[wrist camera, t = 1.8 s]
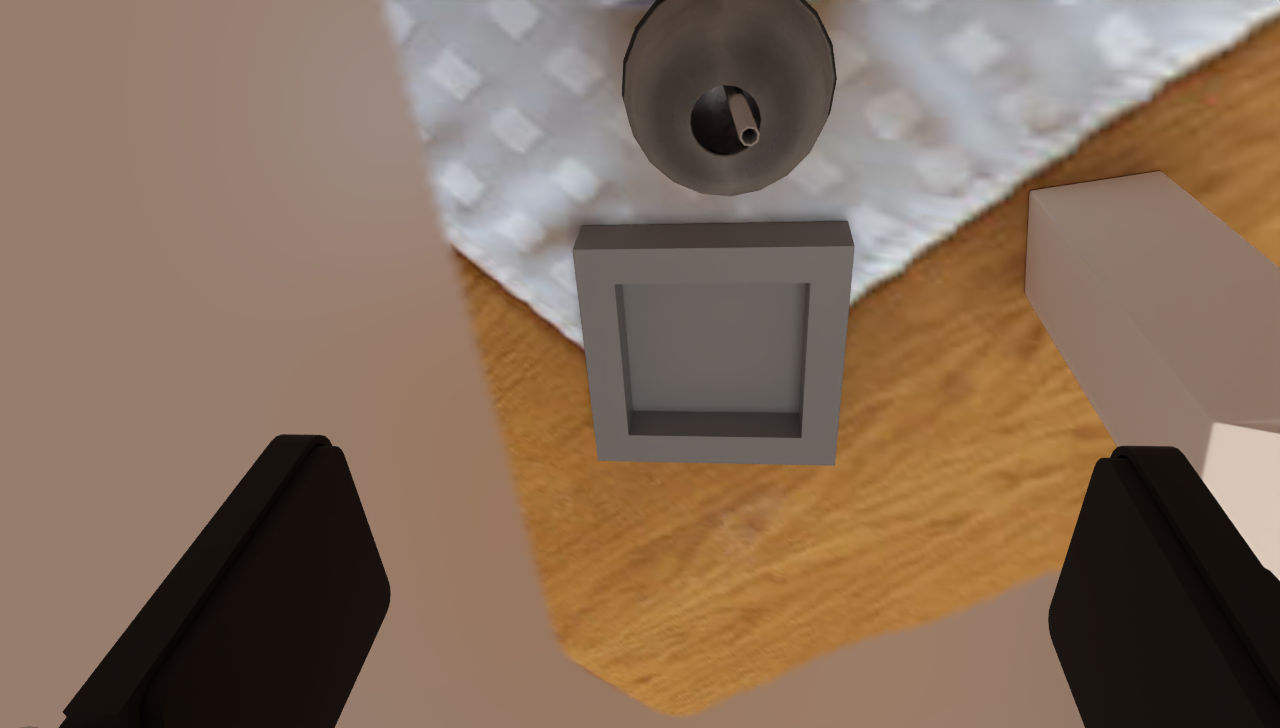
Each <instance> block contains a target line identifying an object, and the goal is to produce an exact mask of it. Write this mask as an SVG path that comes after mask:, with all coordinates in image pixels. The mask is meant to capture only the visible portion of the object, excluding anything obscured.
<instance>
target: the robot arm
mask: <svg viewBox="0 0 1280 728" xmlns="http://www.w3.org/2000/svg"><path fill="white" fill-rule="evenodd" d="M389 603H390V585H389V581H388V578H387V575H386V573H385V570H384V567H383V564H382V561H381V558H380V556H379V553H378V550H377V547H376V544H375V541H374V538H373V536H372V533H371V530H370V527H369V524H368V521H367V518H366V515H365V513H364V510H363V507H362V504H361V502H360V498H359V495H358V493H357V490H356V487H355V484H354V481H353V478H352V476H351V473H350V470H349V467H348V464H347V461H346V459H345V456H344V453H343V451H342V450H341V449H340V448H339V447H336V446H332V444H331V442H330V440H329V439H328V438H327V437H326V436H322V435H285V434H284V435H279V436H276V437H275V438H274V439H273V440H272V441H271V442H270V444H269V445H268V446H267V448H266V449H265V450H264V451H263V453H262V454H261V455H260V457H259V458H258V459H257V460H256V462H255V463H254V464H253V466H252V467H251V468H250V469H249V471H248V472H247V474H246V475H245V476H244V477H243V479H242V480H241V481H240V483H239V484H238V485H237V486H236V488H235V489H234V490H233V492H232V493H231V494H230V495H229V497H228V498H227V499H226V501H225V502H224V503H223V505H222V506H221V507H220V508H219V510H218V511H217V512H216V514H215V515H214V516H213V517H212V519H211V520H210V521H209V523H208V524H207V525H206V527H205V528H204V529H203V530H202V532H201V533H200V534H199V536H198V537H197V538H196V540H195V541H194V542H193V543H192V545H191V546H190V547H189V549H188V550H187V551H186V553H185V554H184V555H183V557H182V558H181V559H180V560H179V562H178V563H177V564H176V565H175V567H174V568H173V569H172V571H171V572H170V573H169V575H168V576H167V577H166V579H165V580H164V581H163V582H162V584H161V585H160V586H159V588H158V589H157V590H156V592H155V593H154V594H153V595H152V597H151V598H150V599H149V601H148V602H147V603H146V605H145V606H144V607H143V608H142V610H141V611H140V612H139V613H138V615H137V616H136V617H135V619H134V620H133V621H132V623H131V624H130V625H129V626H128V628H127V629H126V630H125V632H124V633H123V634H122V636H121V637H120V638H119V639H118V641H117V642H116V643H115V645H114V646H113V647H112V649H111V650H110V651H109V652H108V654H107V655H106V656H105V658H104V659H103V660H102V661H101V663H100V664H99V666H98V667H97V668H96V669H95V671H94V672H93V673H92V674H91V676H90V677H89V678H88V680H87V681H86V682H85V684H84V685H83V686H82V687H81V689H80V690H79V691H78V693H77V694H76V695H75V697H74V698H73V699H72V700H71V702H70V703H69V704H68V706H67V707H66V708H65V709H64V711H63V713H64V714H65V715H66V719H65V720H64V721H63V723H62V724H61V725H60V727H59V728H335V725H336V723H337V721H338V719H339V717H340V715H341V712H342V710H343V708H344V705H345V703H346V701H347V699H348V697H349V695H350V692H351V690H352V688H353V686H354V684H355V681H356V679H357V677H358V675H359V673H360V670H361V668H362V666H363V664H364V662H365V659H366V657H367V655H368V653H369V651H370V648H371V646H372V644H373V642H374V639H375V637H376V635H377V633H378V631H379V629H380V626H381V624H382V622H383V620H384V618H385V615H386V613H387V610H388V607H389ZM1048 622H1049V631H1050V636H1051V639H1052V642H1053V645H1054V647H1055V650H1056V653H1057V655H1058V658H1059V661H1060V663H1061V666H1062V668H1063V671H1064V674H1065V676H1066V679H1067V682H1068V684H1069V687H1070V689H1071V692H1072V694H1073V697H1074V700H1075V702H1076V705H1077V707H1078V710H1079V713H1080V715H1081V718H1082V721H1083V723H1084V726H1085V728H1280V581H1279V580H1278V578H1277V577H1276V576H1275V575H1274V574H1273V573H1272V572H1271V571H1270V570H1268V569H1266V568H1264V567H1263V565H1262V564H1261V562H1260V561H1259V560H1258V558H1257V557H1256V555H1255V554H1254V552H1253V551H1252V550H1251V548H1250V547H1249V545H1248V544H1247V543H1246V541H1245V540H1244V538H1243V537H1242V536H1241V534H1240V533H1239V531H1238V530H1237V528H1236V527H1235V526H1234V524H1233V523H1232V521H1231V520H1230V519H1229V517H1228V516H1227V514H1226V513H1225V512H1224V510H1223V509H1222V507H1221V506H1220V504H1219V503H1218V502H1217V500H1216V499H1215V497H1214V496H1213V495H1212V493H1211V492H1210V490H1209V489H1208V488H1207V486H1206V485H1205V483H1204V482H1203V480H1202V479H1201V478H1200V476H1199V475H1198V473H1197V472H1196V471H1195V469H1194V468H1193V466H1192V465H1191V463H1190V462H1189V461H1188V459H1187V458H1186V456H1185V455H1184V454H1183V453H1182V452H1181V451H1180V450H1179V449H1178V448H1175V447H1173V446H1119V447H1117V448H1116V449H1115V450H1114V451H1113V453H1112V455H1111V457H1110V458H1100V459H1099V460H1098V461H1097V463H1096V465H1095V467H1094V470H1093V473H1092V476H1091V479H1090V483H1089V486H1088V489H1087V492H1086V495H1085V498H1084V501H1083V505H1082V508H1081V511H1080V514H1079V517H1078V520H1077V524H1076V527H1075V530H1074V533H1073V536H1072V539H1071V542H1070V546H1069V549H1068V552H1067V555H1066V558H1065V561H1064V564H1063V568H1062V571H1061V574H1060V577H1059V580H1058V583H1057V587H1056V590H1055V593H1054V596H1053V599H1052V602H1051V605H1050V609H1049V618H1048ZM23 728H37V727H30V726H29V727H23Z"/></svg>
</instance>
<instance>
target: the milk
mask: <svg viewBox="0 0 1280 728" xmlns="http://www.w3.org/2000/svg"><path fill="white" fill-rule="evenodd" d="M1025 296H1026V297H1027V299H1028V301H1029V302H1030V304H1031V306H1032V307H1033V309H1034V311H1035V312H1036V314H1037V316H1038V317H1039V319H1040V320H1041V322H1042V324H1043V325H1044V327H1045V329H1046V330H1047V332H1048V334H1049V335H1050V337H1051V339H1052V340H1053V342H1054V344H1055V345H1056V347H1057V348H1058V350H1059V352H1060V353H1061V355H1062V357H1063V358H1064V360H1065V362H1066V363H1067V365H1068V367H1069V368H1070V370H1071V372H1072V373H1073V375H1074V376H1075V378H1076V380H1077V381H1078V383H1079V385H1080V386H1081V388H1082V390H1083V391H1084V393H1085V395H1086V396H1087V398H1088V400H1089V401H1090V403H1091V404H1092V406H1093V408H1094V409H1095V411H1096V413H1097V414H1098V416H1099V418H1100V419H1101V421H1102V423H1103V424H1104V426H1105V428H1106V429H1107V431H1108V432H1109V434H1110V436H1111V437H1112V439H1113V441H1114V442H1115V444H1116V446H1117V447H1119V446H1173V447H1175V448H1178V449H1179V450H1180V451H1181V452H1182V453H1183V454H1184V455H1185V456H1186V458H1187V459H1188V461H1189V462H1190V463H1191V465H1192V466H1193V468H1194V469H1195V471H1196V472H1197V473H1198V475H1199V476H1200V478H1201V479H1202V480H1203V482H1204V483H1205V485H1206V486H1207V488H1208V489H1209V490H1210V492H1211V493H1212V495H1213V496H1214V497H1215V499H1216V500H1217V502H1218V503H1219V504H1220V506H1221V507H1222V509H1223V510H1224V512H1225V513H1226V514H1227V516H1228V517H1229V519H1230V520H1231V521H1232V523H1233V524H1234V526H1235V527H1236V528H1237V530H1238V531H1239V533H1240V534H1241V536H1242V537H1243V538H1244V540H1245V541H1246V543H1247V544H1248V545H1249V547H1250V548H1251V550H1252V551H1253V552H1254V554H1255V555H1256V557H1257V558H1258V560H1259V561H1260V562H1261V564H1262V565H1263V567H1264V568H1266V569H1268V570H1270V571H1271V572H1272V573H1273V574H1274V575H1275V576H1276V577H1277V578H1278V580H1279V581H1280V268H1279V267H1278V266H1277V265H1276V264H1274V263H1273V262H1272V261H1271V260H1269V259H1268V258H1267V257H1266V256H1265V255H1263V254H1262V253H1261V252H1260V251H1258V250H1257V249H1256V248H1255V247H1254V246H1252V245H1251V244H1250V243H1249V242H1247V241H1246V240H1245V239H1244V238H1242V237H1241V236H1240V235H1239V234H1238V233H1236V232H1235V231H1234V230H1233V229H1231V228H1230V227H1229V226H1228V225H1227V224H1225V223H1224V222H1223V221H1222V220H1220V219H1219V218H1218V217H1217V216H1216V215H1214V214H1213V213H1212V212H1211V211H1209V210H1208V209H1207V208H1206V207H1204V206H1203V205H1202V204H1201V203H1200V202H1198V201H1197V200H1196V199H1195V198H1193V197H1192V196H1191V195H1190V194H1189V193H1187V192H1186V191H1185V190H1184V189H1182V188H1181V187H1180V186H1179V185H1177V184H1176V183H1175V182H1174V181H1173V180H1171V179H1170V178H1169V177H1168V176H1166V175H1165V174H1164V173H1163V172H1161V171H1157V172H1150V173H1143V174H1137V175H1130V176H1124V177H1117V178H1110V179H1104V180H1097V181H1091V182H1084V183H1077V184H1071V185H1064V186H1058V187H1051V188H1044V189H1038V190H1032V191H1030V193H1029V213H1028V234H1027V255H1026V276H1025Z"/></svg>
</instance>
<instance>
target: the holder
mask: <svg viewBox="0 0 1280 728" xmlns="http://www.w3.org/2000/svg"><path fill="white" fill-rule="evenodd" d="M853 257H854V243H853V239H852V235H851V231H850V228H849V224H848V221H832V222H773V223H713V224H654V225H595V226H582V228H581V230H580V233H579V235H578V238H577V240H576V243H575V245H574V248H573V258H574V266H575V274H576V282H577V290H578V299H579V307H580V315H581V323H582V331H583V340H584V348H585V356H586V364H587V373H588V381H589V389H590V397H591V405H592V414H593V422H594V430H595V438H596V447H597V455H598V461H637V462H686V463H736V464H785V465H835V457H836V446H837V435H838V423H839V412H840V401H841V390H842V379H843V368H844V357H845V346H846V335H847V323H848V312H849V301H850V290H851V279H852V268H853Z"/></svg>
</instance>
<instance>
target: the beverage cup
mask: <svg viewBox="0 0 1280 728" xmlns="http://www.w3.org/2000/svg"><path fill="white" fill-rule="evenodd" d="M836 80H837V77H836V69H835V61H834V53H833V45H832V42H831V40H830V38H829V36H828V34H827V32H826V30H825V27H824V25H823V23H822V21H821V19H820V17H819V15H818V13H817V11H816V10H815V9H814V8H813V7H812V6H810V5H809V4H808V3H807V2H806V1H805V0H656V1H655V3H654V4H653V5H652V7H651V8H650V9H649V10H648V12H647V13H646V14H645V16H644V17H643V18H642V19H641V21H640V22H639V23H638V25H637V26H636V27H635V30H634V33H633V35H632V38H631V41H630V44H629V46H628V49H627V52H626V55H625V57H624V60H623V82H622V96H623V100H624V104H625V108H626V111H627V115H628V119H629V123H630V126H631V129H632V133H633V135H634V137H635V139H636V141H637V142H638V144H639V145H640V147H641V149H642V150H643V152H644V153H645V155H646V156H647V158H648V160H649V161H650V163H652V164H653V165H654V166H655V167H656V168H658V169H659V170H660V171H661V172H662V173H663V174H665V175H666V176H667V177H668V178H669V179H671V180H672V181H673V182H675V183H677V184H680V185H682V186H685V187H687V188H689V189H692V190H694V191H697V192H699V193H701V194H712V195H722V196H734V195H738V194H743V193H748V192H753V191H758V190H761V189H763V188H764V187H766V186H768V185H770V184H772V183H774V182H776V181H778V180H779V179H781V178H783V177H785V176H787V175H788V174H789V173H790V172H791V171H792V170H793V169H794V168H795V167H796V166H797V165H798V164H799V163H800V162H801V161H802V160H803V159H804V158H805V157H806V156H807V155H808V154H809V153H810V151H811V149H812V147H813V146H814V144H815V142H816V140H817V138H818V136H819V134H820V132H821V131H822V129H823V127H824V125H825V123H826V121H827V118H828V116H829V114H830V111H831V106H832V101H833V96H834V90H835V85H836Z"/></svg>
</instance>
